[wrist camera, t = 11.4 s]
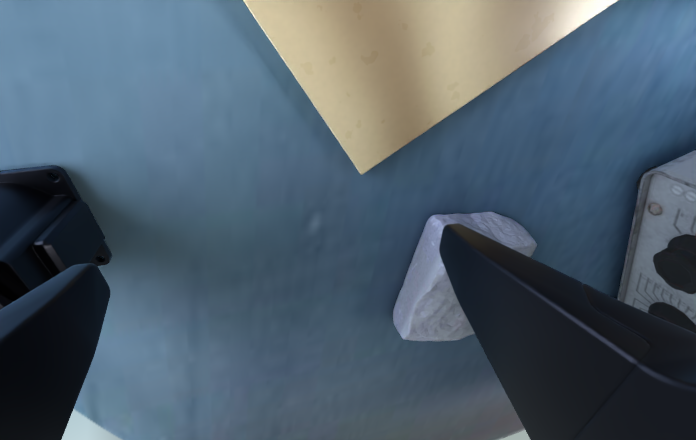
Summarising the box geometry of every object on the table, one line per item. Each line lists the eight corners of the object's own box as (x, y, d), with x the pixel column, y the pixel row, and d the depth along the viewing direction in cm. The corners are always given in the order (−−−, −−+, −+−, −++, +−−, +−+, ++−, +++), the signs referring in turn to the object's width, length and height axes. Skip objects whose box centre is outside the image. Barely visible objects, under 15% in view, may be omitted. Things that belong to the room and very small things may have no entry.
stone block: (511, 202, 29) (420, 208, 24) (559, 235, 25) (464, 249, 21) (458, 297, 35) (379, 316, 30) (491, 334, 31) (407, 362, 27)
